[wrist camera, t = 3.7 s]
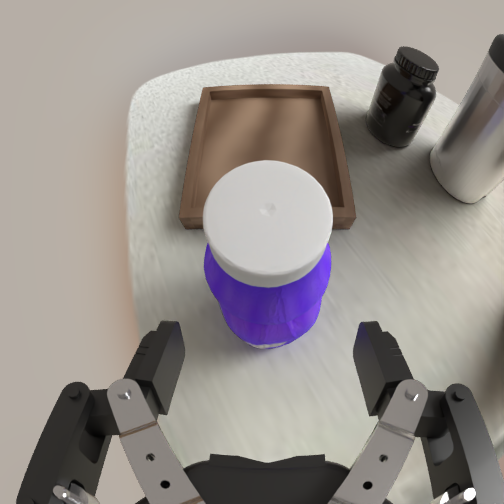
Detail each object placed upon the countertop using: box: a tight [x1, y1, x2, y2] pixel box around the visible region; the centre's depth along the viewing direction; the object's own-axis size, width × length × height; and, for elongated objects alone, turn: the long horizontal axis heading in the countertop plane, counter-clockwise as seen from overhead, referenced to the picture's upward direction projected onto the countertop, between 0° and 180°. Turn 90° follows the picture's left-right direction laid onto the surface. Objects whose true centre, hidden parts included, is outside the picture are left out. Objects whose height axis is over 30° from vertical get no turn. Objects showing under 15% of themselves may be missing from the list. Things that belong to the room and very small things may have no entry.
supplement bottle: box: [366, 46, 439, 147], centre depth 26 cm, size 7×7×12 cm
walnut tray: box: [179, 84, 356, 229], centre depth 29 cm, size 16×19×2 cm
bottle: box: [203, 160, 333, 349], centre depth 17 cm, size 7×6×17 cm
